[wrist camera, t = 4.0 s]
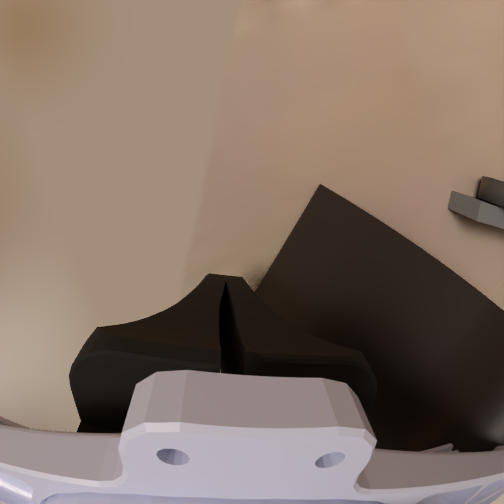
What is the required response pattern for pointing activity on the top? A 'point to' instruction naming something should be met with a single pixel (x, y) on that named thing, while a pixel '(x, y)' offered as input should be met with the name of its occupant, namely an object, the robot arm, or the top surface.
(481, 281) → the top surface
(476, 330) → the phone stand
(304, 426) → the robot arm
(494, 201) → the chassis bay
